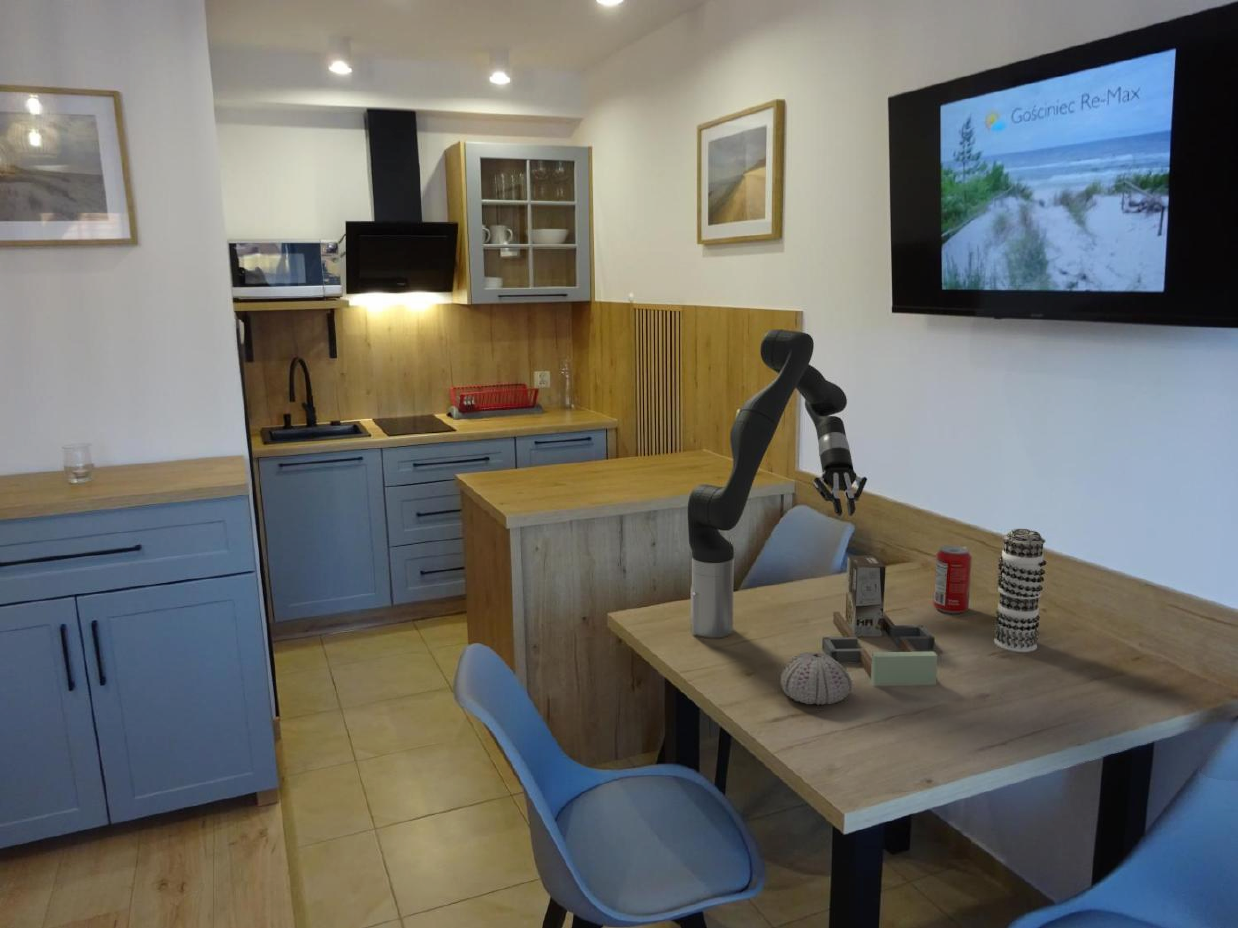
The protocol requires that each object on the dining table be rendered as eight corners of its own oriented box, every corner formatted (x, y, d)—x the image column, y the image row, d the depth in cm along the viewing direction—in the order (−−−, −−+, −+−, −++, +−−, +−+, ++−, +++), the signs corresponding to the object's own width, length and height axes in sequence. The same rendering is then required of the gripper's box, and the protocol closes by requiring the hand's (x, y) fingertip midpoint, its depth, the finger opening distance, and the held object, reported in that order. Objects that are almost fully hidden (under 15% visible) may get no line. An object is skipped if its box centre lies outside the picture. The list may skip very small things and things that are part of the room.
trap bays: (830, 662, 181) (831, 651, 180) (815, 637, 194) (816, 626, 194) (944, 661, 181) (945, 649, 181) (921, 635, 194) (922, 625, 194)
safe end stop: (873, 685, 170) (875, 656, 169) (870, 681, 172) (872, 652, 171) (935, 684, 171) (937, 655, 169) (932, 680, 172) (933, 651, 171)
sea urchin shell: (766, 697, 167) (767, 657, 165) (801, 673, 177) (802, 635, 175) (830, 718, 158) (831, 676, 157) (863, 691, 168) (865, 652, 167)
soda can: (928, 611, 209) (932, 550, 206) (938, 601, 215) (941, 542, 212) (963, 617, 204) (967, 555, 202) (971, 607, 211) (976, 547, 208)
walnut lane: (874, 684, 171) (875, 672, 170) (833, 621, 203) (833, 611, 202) (933, 683, 171) (934, 671, 171) (882, 621, 203) (883, 610, 202)
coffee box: (883, 637, 194) (886, 566, 191) (853, 637, 194) (856, 566, 191) (872, 621, 203) (875, 554, 200) (844, 621, 203) (847, 554, 200)
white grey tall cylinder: (1017, 633, 195) (1026, 524, 190) (1048, 649, 186) (1059, 535, 181) (982, 638, 192) (990, 528, 187) (1013, 655, 184) (1022, 539, 179)
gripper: (810, 446, 219) (820, 506, 209) (865, 445, 219) (878, 505, 209) (804, 463, 225) (814, 522, 215) (859, 462, 225) (870, 521, 215)
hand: (845, 513), depth 212 cm, fingers closed
